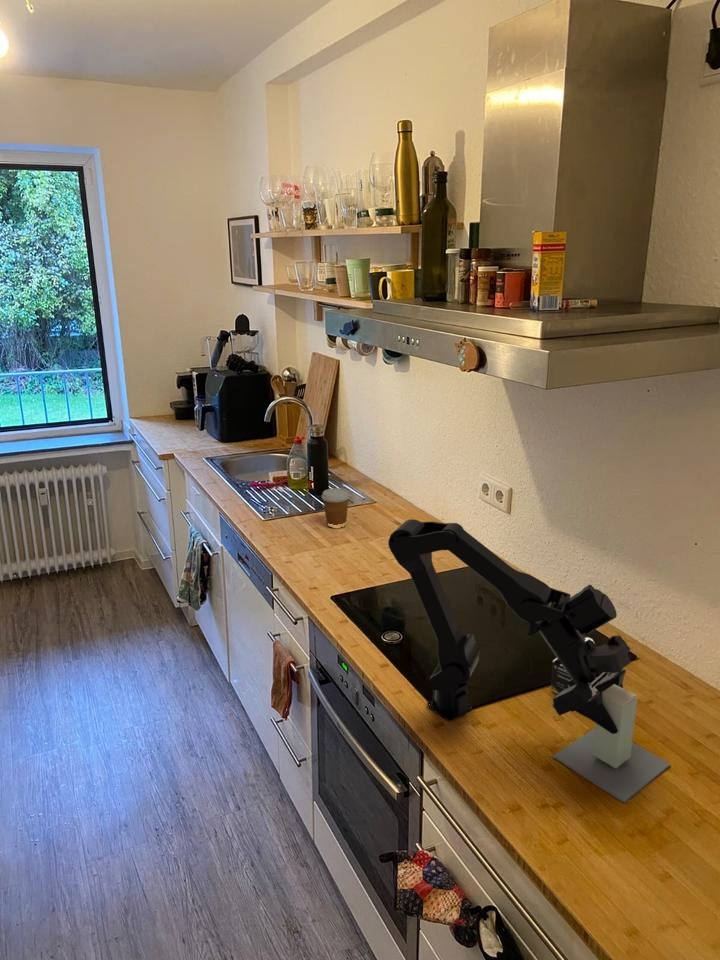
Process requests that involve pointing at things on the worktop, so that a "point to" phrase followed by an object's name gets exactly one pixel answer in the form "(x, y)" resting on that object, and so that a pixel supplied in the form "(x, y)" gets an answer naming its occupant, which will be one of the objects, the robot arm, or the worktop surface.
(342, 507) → the disposable coffee cup
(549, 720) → the worktop surface
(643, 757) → the plate
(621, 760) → the tea tin
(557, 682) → the medicine bottle
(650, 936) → the worktop surface
